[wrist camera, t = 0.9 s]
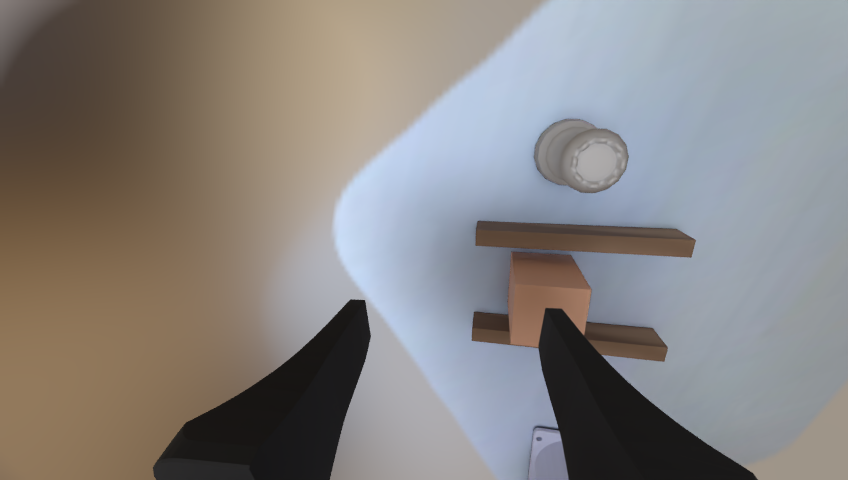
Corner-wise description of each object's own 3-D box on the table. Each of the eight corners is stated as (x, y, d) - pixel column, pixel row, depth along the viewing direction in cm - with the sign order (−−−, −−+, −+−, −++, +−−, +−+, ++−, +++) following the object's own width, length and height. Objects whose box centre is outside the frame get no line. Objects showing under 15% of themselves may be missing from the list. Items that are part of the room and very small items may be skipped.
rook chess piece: (611, 126, 23) (667, 126, 15) (586, 190, 24) (626, 218, 17) (545, 112, 23) (569, 105, 16) (524, 175, 25) (537, 196, 17)
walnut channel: (649, 341, 27) (664, 361, 25) (473, 323, 30) (471, 340, 27) (676, 229, 24) (695, 240, 22) (477, 220, 27) (476, 229, 24)
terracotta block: (564, 306, 27) (581, 351, 22) (507, 301, 28) (510, 344, 23) (570, 254, 26) (591, 289, 20) (511, 251, 27) (515, 284, 21)
